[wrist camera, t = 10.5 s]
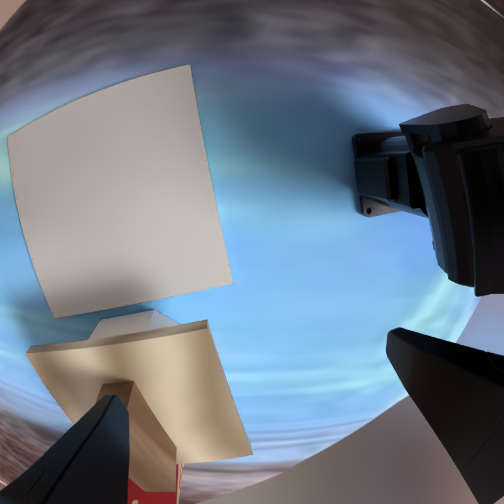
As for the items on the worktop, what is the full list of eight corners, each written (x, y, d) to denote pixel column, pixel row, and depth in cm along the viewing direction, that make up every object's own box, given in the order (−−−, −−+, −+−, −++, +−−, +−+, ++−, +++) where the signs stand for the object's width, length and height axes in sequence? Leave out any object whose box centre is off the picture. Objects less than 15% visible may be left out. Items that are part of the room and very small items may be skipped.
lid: (207, 319, 16) (208, 383, 10) (251, 446, 20) (261, 495, 15) (31, 346, 14) (-3, 391, 9) (112, 456, 19) (104, 499, 13)
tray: (190, 66, 16) (190, 64, 15) (232, 280, 21) (233, 283, 20) (10, 137, 14) (7, 137, 14) (56, 315, 19) (54, 318, 19)
